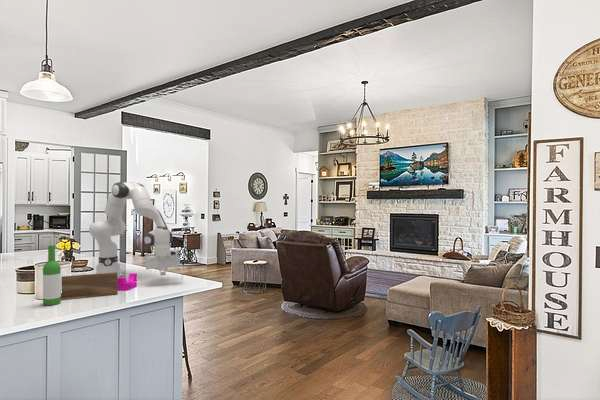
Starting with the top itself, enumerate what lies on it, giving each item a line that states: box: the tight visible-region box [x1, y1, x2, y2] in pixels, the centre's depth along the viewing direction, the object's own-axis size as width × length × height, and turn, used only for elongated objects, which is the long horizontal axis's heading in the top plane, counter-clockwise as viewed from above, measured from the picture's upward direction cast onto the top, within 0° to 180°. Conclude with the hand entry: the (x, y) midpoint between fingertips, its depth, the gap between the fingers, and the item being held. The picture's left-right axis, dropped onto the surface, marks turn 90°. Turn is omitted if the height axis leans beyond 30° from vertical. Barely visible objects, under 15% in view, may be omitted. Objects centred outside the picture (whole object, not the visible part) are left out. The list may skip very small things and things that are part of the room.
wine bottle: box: [42, 244, 62, 306], centre depth 194 cm, size 8×8×30 cm
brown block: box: [61, 272, 119, 301], centre depth 212 cm, size 13×28×12 cm, turn 114°
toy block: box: [117, 272, 138, 292], centre depth 229 cm, size 15×6×8 cm, turn 175°
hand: (163, 274), depth 236 cm, fingers closed
